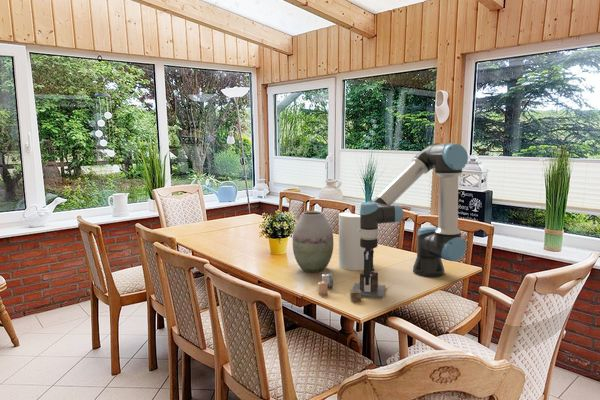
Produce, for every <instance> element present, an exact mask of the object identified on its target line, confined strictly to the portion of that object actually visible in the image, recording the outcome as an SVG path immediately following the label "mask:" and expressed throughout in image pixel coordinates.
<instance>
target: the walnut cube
mask: <svg viewBox="0 0 600 400" xmlns="http://www.w3.org/2000/svg"><path fill="white" fill-rule="evenodd" d="M349 298H350V302H351V303H361V302H362V297H361V291H360V289H356V290H352V289H350V293H349Z"/></svg>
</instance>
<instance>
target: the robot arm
mask: <svg viewBox="0 0 600 400" xmlns="http://www.w3.org/2000/svg"><path fill="white" fill-rule="evenodd" d="M468 158H469V157H468V151H467V149H466V148H465V147H464V146H463V145H461V144H460V143H456V142H455V143H454V142H450V143H449V142H447V143H446V142H445V143H444V142H441V143H440V142H437V143H436V142H435V143H432V144H430V145H428V146H426V147H425V148H423V149H422V150H421V151H419V152H418V153H417V154H416V155H415V156H414V157H413V158H412V159H411V163H410V164H409V165H408V166H407V167H406V168H405V169H404V170H402V172H401V173H400V174H399V175H398V176H396V178H394V179H393V180H392V182H390V183H389V184H388V186H386V188H384V189H383V190H382V191H381V192H380V193H379V194H378V195H377V196H376V197H375V198H374V199H372V200H369V201H366V202H362V203H361V204H360V210H359V215H360V230H359V232H361V233H360V237H361V239H360V246H361V247H362V248H365V251H364V270H363V272H364V275H363V276H362V277H364V292H371V277H370V271H372V272H375V268H374V252H375V251H374V249H375V248H378V240H379V239H378V237H379V229H378V228H379V227H378V225H380V224H381V225H382V224H390V223H391V224H395V223H400V222H401V221H402V220H403V219H404V210H403V208H402V206H401V205H398V204H397V205H395V204H394V203H395V202H397V200H398V199H399V198H400V197H401V196H402V195H403V194H404V193H405V192H406V191H407V190H408V189H409V188H410V187H412V185H413V184H414V183H415V182H416V181H418V180H419V178H421V177H422V176H423V175H425V174H426V175H427V174H428V173H429V171H431V170H434V174H435V175H436V176H437V177H438V198H437V199H438V205H437V211H438V213H437V215H438V216H437V218H438V221H437V223H438V224H437V227H435V226H434V227H433V226H431V227H430V226H427V227H420V228H418V230H417V236H416V240H417V241H416V243H417V244H416V259H415V261H414V263H413V267H412V272H413V274H415V275H417V276H421V277H424V278H425V277H427V278H437V277H443V276H444V275H445V267H444V264H443V261H442V259H443V260H445V261H448V262H449V261H450V262H457V261H458V260H461V258H462V257H463V256H464V255H465V253H466V251H467V242H466V241H465V240H464V238H462V231H461V230H460V228H458V227H459V217H458V216H459V176H461V174H462V173H463V169H464V168H465V167H466V165H467V164H468V160H469V159H468Z"/></svg>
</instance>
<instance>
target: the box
mask: <svg viewBox="0 0 600 400" xmlns="http://www.w3.org/2000/svg"><path fill="white" fill-rule="evenodd" d="M363 275H364V271H363V272H360V273H359V283H360V290H364V277H362V276H363ZM370 277H371V292H372V291H374V290H376V289H377V288H378V285H379V273H378V272H377V271H373V272H372V271H370Z"/></svg>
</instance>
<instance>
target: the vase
mask: <svg viewBox="0 0 600 400" xmlns="http://www.w3.org/2000/svg"><path fill="white" fill-rule="evenodd" d="M334 244H335V243H334V234H333V229H332V226H331V224H330V222H329V221H328V220H327V218H326V216H325V214H324V212H322V211H318V210H317V211H316V210H314V211H313V210H312V211H311V210H310V211H303V212H302V213H301V214H300V217H299V219H298V221H297V222H296V224H295V225H294V227H293V232H292V251H293V255H294V258H295V261H296V263H297V265H298V266H299V268H300V269H301V270H302V271H303V272H305V273H315V274H316V273H320V272H321V273H322V272H323V271H324V270H325V269H326V268H327V267H328V266H329V263H330V262H331V259H332V256H333V251H334Z"/></svg>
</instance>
